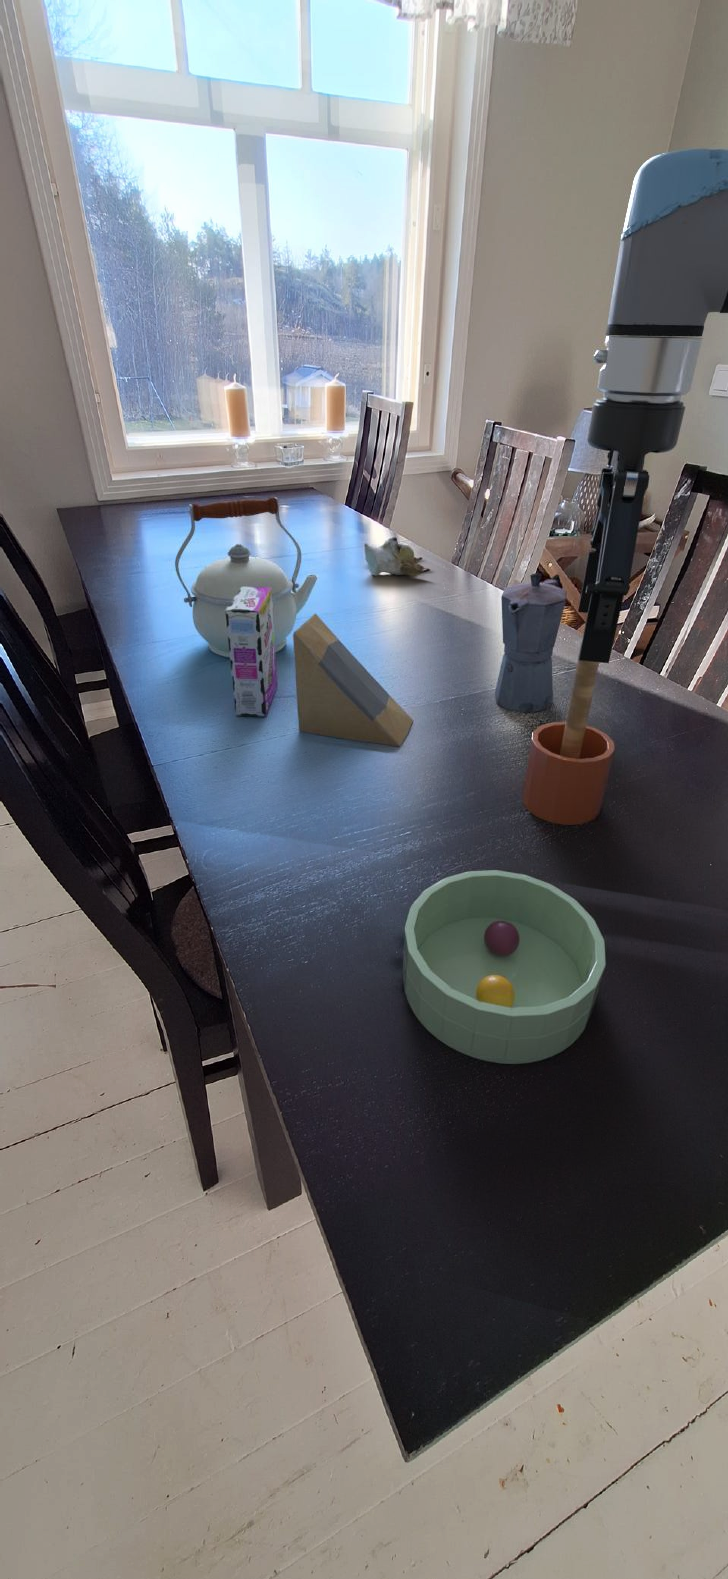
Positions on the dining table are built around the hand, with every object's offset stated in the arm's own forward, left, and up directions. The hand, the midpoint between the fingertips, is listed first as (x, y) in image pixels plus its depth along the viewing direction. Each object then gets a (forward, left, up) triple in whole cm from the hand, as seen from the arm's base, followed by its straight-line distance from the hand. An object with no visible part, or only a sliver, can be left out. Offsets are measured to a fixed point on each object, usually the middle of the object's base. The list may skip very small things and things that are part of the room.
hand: (592, 634), depth 71 cm
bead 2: (+5, +31, -20) cm, 38 cm away
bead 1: (+5, +25, -20) cm, 32 cm away
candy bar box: (+46, -19, -23) cm, 55 cm away
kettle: (+55, -41, -23) cm, 72 cm away
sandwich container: (+29, -15, -23) cm, 40 cm away
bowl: (+5, +28, -23) cm, 36 cm away
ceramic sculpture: (+39, -89, -23) cm, 100 cm away
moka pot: (+6, -30, -23) cm, 38 cm away
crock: (0, 0, -23) cm, 23 cm away
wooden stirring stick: (0, 0, -22) cm, 22 cm away
